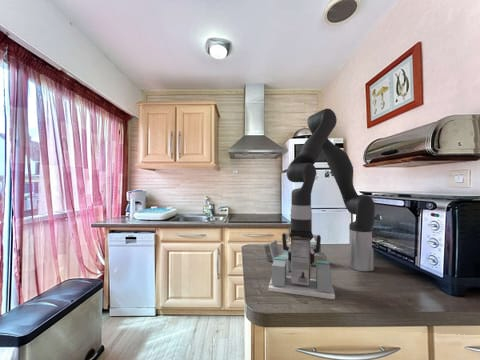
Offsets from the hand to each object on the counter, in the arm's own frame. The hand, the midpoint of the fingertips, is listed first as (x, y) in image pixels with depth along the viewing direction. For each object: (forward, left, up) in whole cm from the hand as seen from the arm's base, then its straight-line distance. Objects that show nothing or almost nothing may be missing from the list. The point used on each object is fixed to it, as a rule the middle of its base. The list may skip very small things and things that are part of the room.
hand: (301, 262), depth 86 cm
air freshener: (-6, -29, -9) cm, 31 cm away
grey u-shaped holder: (0, 0, -9) cm, 9 cm away
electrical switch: (+14, -29, -9) cm, 34 cm away
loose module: (+6, -19, -9) cm, 22 cm away
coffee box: (0, 0, -7) cm, 7 cm away
